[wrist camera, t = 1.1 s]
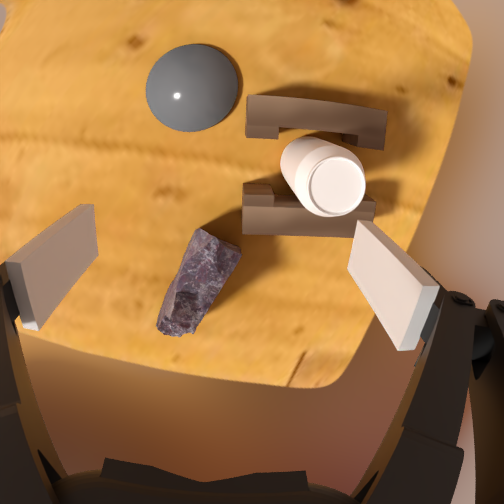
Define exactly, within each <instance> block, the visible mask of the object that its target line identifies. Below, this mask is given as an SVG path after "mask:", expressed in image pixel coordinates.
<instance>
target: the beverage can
mask: <svg viewBox="0 0 504 504" xmlns="http://www.w3.org/2000/svg"><path fill="white" fill-rule="evenodd" d="M280 166H281V171H282V174H283V176H284V178H285V180H286V181H287V183H288V184H289V186H290V187H291V189H292V190H293V192H294V193H295V195H296V196H297V197H298V199H299V200H300V202H301V203H302V205H303V206H304V207H305V208H306V209H307V210H309V211H310V212H312V213H314V214H316V215H319V216H323V217H334V216H342V215H345V214H347V213H349V212H351V211H353V210H354V209H355V208H356V207H357V206H358V205H359V204H360V202H361V201H362V199H363V196H364V193H365V188H366V182H365V173H364V169H363V166H362V164H361V162H360V161H359V159H358V158H357V157H356V156H355V155H354V154H353V153H352V152H351V151H349V150H347V149H345V148H343V147H341V146H338V145H335V144H333V143H330V142H327V141H325V140H322V139H319V138H316V137H310V136H305V137H300V138H297V139H295V140H293V141H292V142H290V143H289V144H288V145H287V146H286V148H285V149H284V151H283V153H282V156H281V162H280Z"/></svg>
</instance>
